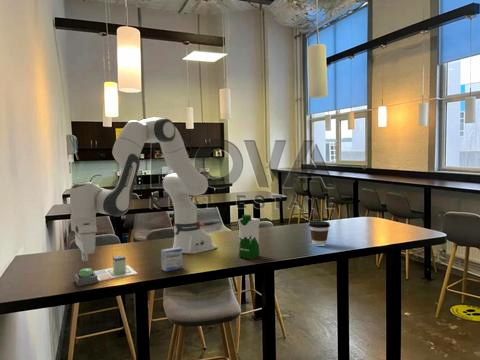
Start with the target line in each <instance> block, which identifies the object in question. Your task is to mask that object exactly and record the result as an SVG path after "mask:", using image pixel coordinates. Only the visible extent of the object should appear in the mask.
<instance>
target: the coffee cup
mask: <svg viewBox="0 0 480 360" xmlns="http://www.w3.org/2000/svg"><path fill="white" fill-rule="evenodd" d="M330 226H331V224H330V222H328V221H325V220H313V221H309V223H308V227H309V228H310V230H309V232H310V236H311V240H312V241H311V242H312V245H313V244H317V245H322V244H326V243H327V240H328V235H329V228H330Z"/></svg>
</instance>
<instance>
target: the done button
mask: <svg viewBox="0 0 480 360" xmlns="http://www.w3.org/2000/svg"><path fill="white" fill-rule="evenodd" d="M92 271H93V269H92V268H89V267H88V268H87V267H86V268H82V269H79V274H80V278H85V277H91V276H92Z"/></svg>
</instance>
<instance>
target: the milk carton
mask: <svg viewBox="0 0 480 360" xmlns="http://www.w3.org/2000/svg"><path fill="white" fill-rule="evenodd" d="M260 222H261V219H260V218H255V217H252V215H251V214H242V217H241V218H239V219H237V224H238V243H239V245H238V247H239V248H238V258H239V257H243V258H242V259H244V258H249V259H248V260H250V259H252V260H254V259H253V258H255V257H257V256H259V255H260V239H259V238H260V237H259V235H260V231H259V229H260ZM259 257H260V256H259ZM257 258H258V257H257ZM255 259H256V258H255Z"/></svg>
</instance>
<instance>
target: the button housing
mask: <svg viewBox="0 0 480 360" xmlns="http://www.w3.org/2000/svg"><path fill="white" fill-rule="evenodd" d="M94 271H95V270H92V276H91V277H85V278H80V273H76V274H74V282H75V283H76V285H77V286H78V287H80V286H86V285H90V284H91V285H92V284H96V283H98V282H99V281H98V277H97V275H96V273H95V272H94Z"/></svg>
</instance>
